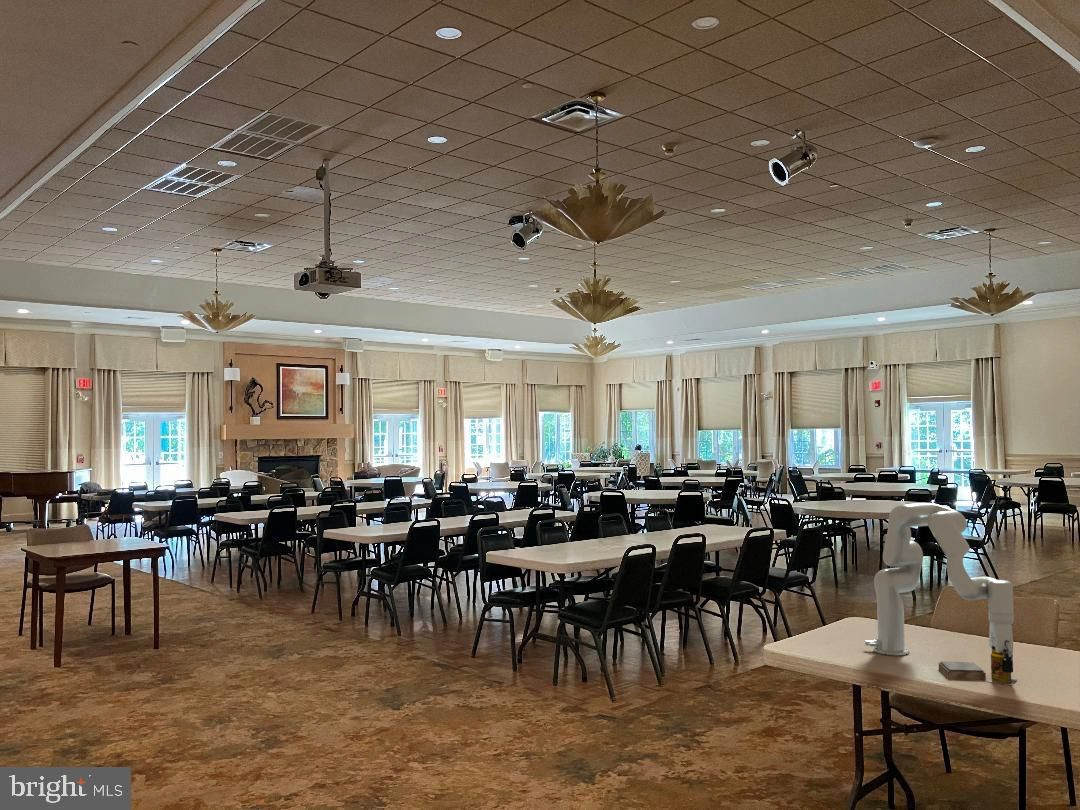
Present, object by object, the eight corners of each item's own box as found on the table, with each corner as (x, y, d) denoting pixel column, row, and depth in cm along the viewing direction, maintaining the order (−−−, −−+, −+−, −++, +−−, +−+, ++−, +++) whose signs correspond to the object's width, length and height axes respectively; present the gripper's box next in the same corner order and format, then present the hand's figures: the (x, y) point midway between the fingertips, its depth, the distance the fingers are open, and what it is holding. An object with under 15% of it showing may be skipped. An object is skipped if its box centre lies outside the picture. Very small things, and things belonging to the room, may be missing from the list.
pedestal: (948, 678, 309) (948, 669, 309) (938, 669, 321) (938, 660, 321) (985, 679, 307) (985, 670, 307) (974, 670, 319) (974, 661, 319)
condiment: (987, 682, 305) (986, 646, 305) (994, 676, 311) (993, 641, 311) (1011, 686, 300) (1010, 649, 300) (1017, 680, 306) (1016, 644, 307)
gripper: (981, 612, 315) (982, 661, 315) (997, 622, 298) (999, 674, 298) (1004, 612, 314) (1005, 662, 313) (1022, 622, 297) (1024, 675, 296)
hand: (1002, 668), depth 306 cm, fingers open, 9 cm apart
